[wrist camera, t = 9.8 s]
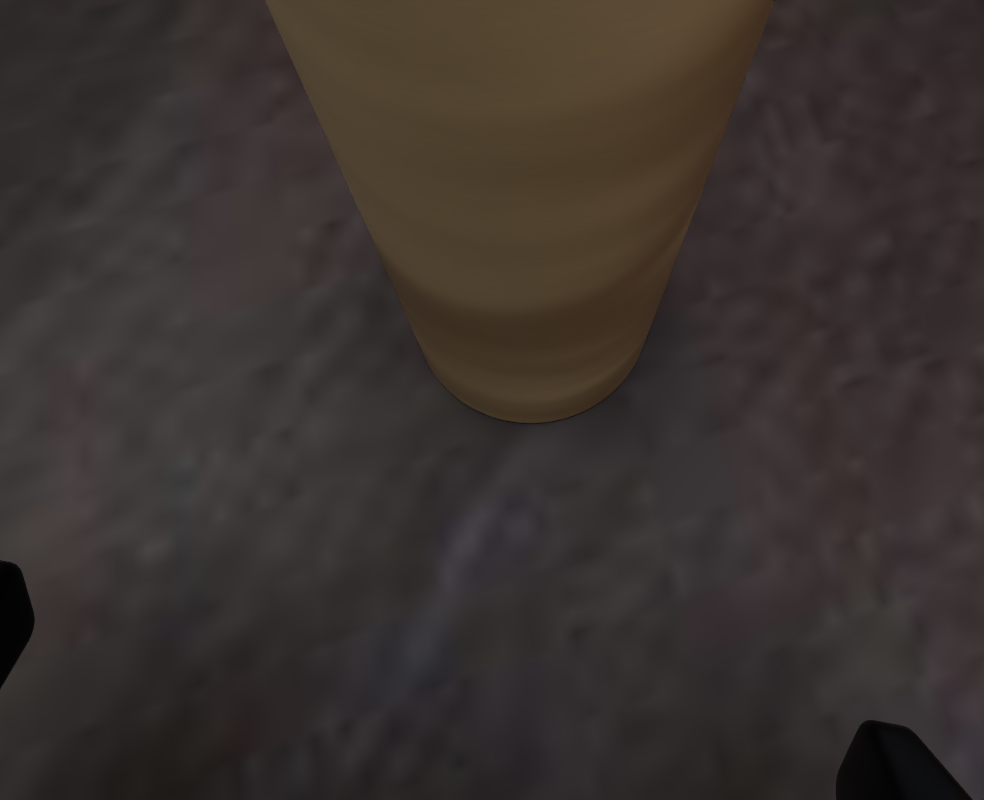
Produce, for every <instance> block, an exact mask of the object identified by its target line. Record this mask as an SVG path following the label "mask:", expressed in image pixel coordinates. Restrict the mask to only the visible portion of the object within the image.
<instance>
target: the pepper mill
mask: <svg viewBox="0 0 984 800" xmlns="http://www.w3.org/2000/svg"><path fill="white" fill-rule="evenodd" d="M265 1H266V4H267V6H268V8H269V10H270V13H271V15H272V17H273V19H274V21H275V24H276V26H277V28H278V30H279V33H280V35H281V37H282V39H283V42H284V44H285V46H286V48H287V51H288V53H289V55H290V57H291V59H292V62H293V64H294V66H295V68H296V71H297V73H298V75H299V77H300V80H301V82H302V84H303V86H304V89H305V91H306V93H307V95H308V98H309V100H310V102H311V104H312V106H313V109H314V111H315V113H316V115H317V118H318V120H319V122H320V124H321V127H322V129H323V131H324V133H325V136H326V138H327V140H328V142H329V144H330V147H331V149H332V151H333V153H334V156H335V158H336V160H337V162H338V165H339V167H340V169H341V171H342V174H343V176H344V178H345V180H346V183H347V185H348V187H349V189H350V191H351V194H352V196H353V198H354V200H355V203H356V205H357V207H358V209H359V212H360V214H361V216H362V218H363V221H364V223H365V225H366V227H367V230H368V232H369V234H370V236H371V238H372V241H373V243H374V245H375V247H376V250H377V252H378V254H379V256H380V259H381V261H382V263H383V265H384V268H385V270H386V272H387V274H388V276H389V279H390V281H391V283H392V285H393V288H394V290H395V292H396V294H397V297H398V299H399V301H400V303H401V306H402V308H403V310H404V312H405V315H406V317H407V319H408V321H409V323H410V326H411V328H412V330H413V332H414V335H415V337H416V339H417V341H418V344H419V346H420V348H421V350H422V353H423V355H424V357H425V359H426V361H427V363H428V365H429V367H430V369H431V370H432V371H433V373H434V374H435V376H436V377H437V378H438V380H439V381H440V382H441V383H442V384H443V385H444V387H445V388H446V389H447V390H448V391H449V392H450V393H452V394H453V395H454V396H455V397H456V398H458V399H459V400H460V401H462V402H463V403H465V404H466V405H468V406H470V407H471V408H473V409H475V410H477V411H479V412H481V413H484V414H486V415H488V416H492V417H495V418H498V419H501V420H506V421H512V422H518V423H541V422H551V421H555V420H560V419H565V418H568V417H570V416H573V415H576V414H579V413H581V412H583V411H585V410H587V409H589V408H591V407H593V406H595V405H596V404H598V403H599V402H601V401H602V400H603V399H605V398H606V397H608V396H609V395H610V394H611V393H612V392H613V391H614V390H615V389H616V388H618V387H619V385H620V384H621V383H622V382H623V381H624V380H625V378H626V377H627V376H628V375H629V373H630V372H631V370H632V368H633V367H634V365H635V364H636V362H637V360H638V357H639V355H640V353H641V351H642V349H643V346H644V343H645V341H646V338H647V335H648V333H649V330H650V327H651V325H652V322H653V320H654V317H655V314H656V312H657V309H658V306H659V304H660V301H661V298H662V296H663V293H664V291H665V288H666V285H667V283H668V280H669V277H670V275H671V272H672V269H673V267H674V264H675V262H676V259H677V256H678V254H679V251H680V248H681V246H682V243H683V240H684V238H685V235H686V232H687V230H688V227H689V225H690V222H691V219H692V217H693V214H694V211H695V209H696V206H697V203H698V201H699V198H700V196H701V193H702V190H703V188H704V185H705V182H706V180H707V177H708V174H709V172H710V169H711V167H712V164H713V161H714V159H715V156H716V153H717V151H718V148H719V145H720V143H721V140H722V138H723V135H724V132H725V130H726V127H727V124H728V122H729V119H730V116H731V114H732V111H733V108H734V106H735V103H736V101H737V98H738V95H739V93H740V90H741V87H742V85H743V82H744V79H745V77H746V74H747V72H748V69H749V66H750V64H751V61H752V58H753V56H754V53H755V50H756V48H757V45H758V43H759V40H760V37H761V35H762V32H763V29H764V27H765V24H766V21H767V19H768V16H769V13H770V11H771V8H772V6H773V3H774V0H265Z"/></svg>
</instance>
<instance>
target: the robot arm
mask: <svg viewBox="0 0 984 800" xmlns="http://www.w3.org/2000/svg"><path fill="white" fill-rule="evenodd" d="M34 622H35V617H34V612H33V608H32V605H31V601H30V598H29V594H28V591H27V588H26V584H25V581H24V577H23V574H22V571H21V569H20V568H19V567H18V566H17V565H16V564H14V563H11V562H6V561H1V560H0V689H1V687H2V685H3V684H4V682H5V680H6V679H7V677H8V675H9V673H10V672H11V670H12V668H13V667H14V665H15V663H16V662H17V660H18V658H19V656H20V655H21V653H22V651H23V650H24V648H25V646H26V645H27V643H28V641H29V639H30V637H31V634H32V632H33V628H34ZM836 800H972V798H971V797H970V796H969V795H968V794H967V793H966V791H965V790H964V789H963V788H962V787H961V786H960V785H959V783H958V782H957V781H956V780H955V779H954V778H953V776H952V775H951V774H950V773H949V772H948V771H947V769H946V768H945V767H944V766H943V765H942V764H941V762H940V761H939V760H938V759H937V758H936V757H935V756H934V754H933V753H932V752H931V751H930V750H929V749H928V747H927V746H926V745H925V744H924V743H923V742H922V740H921V739H920V738H919V737H918V736H917V735H916V734H915V733H914V732H913V731H912V730H910V729H909V728H907V727H905V726H901V725H896V724H891V723H885V722H880V721H875V720H867V721H865V722H863V723H862V724H861V725H860V727H859V728H858V730H857V732H856V734H855V736H854V739H853V741H852V743H851V745H850V747H849V749H848V751H847V753H846V756H845V758H844V760H843V762H842V764H841V766H840V769H839V771H838V775H837V781H836Z"/></svg>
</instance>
